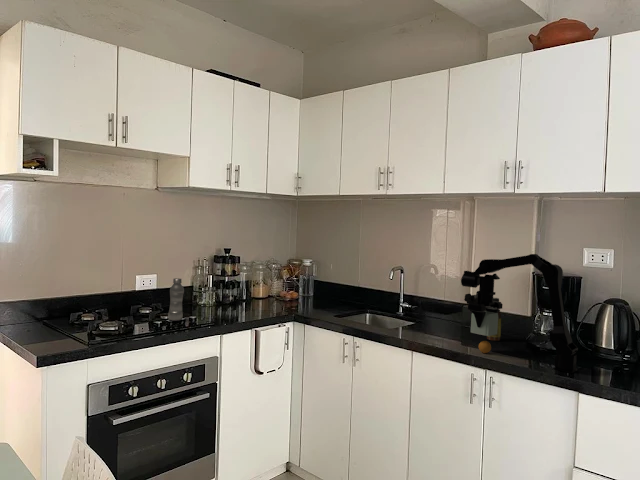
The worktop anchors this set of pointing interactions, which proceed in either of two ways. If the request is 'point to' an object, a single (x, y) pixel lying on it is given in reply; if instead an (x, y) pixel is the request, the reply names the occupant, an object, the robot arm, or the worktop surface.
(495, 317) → the sage green lidded box
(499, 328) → the sauce bottle
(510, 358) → the worktop surface
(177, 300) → the plastic bottle
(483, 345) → the ball
